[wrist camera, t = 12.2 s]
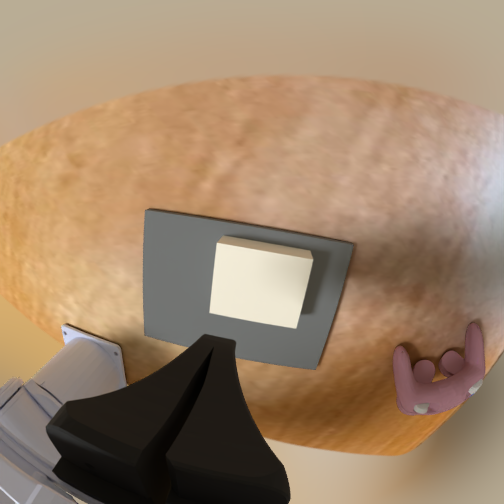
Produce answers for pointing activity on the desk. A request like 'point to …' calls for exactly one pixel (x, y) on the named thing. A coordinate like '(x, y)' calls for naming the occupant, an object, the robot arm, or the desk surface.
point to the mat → (200, 286)
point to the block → (259, 281)
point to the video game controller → (444, 391)
